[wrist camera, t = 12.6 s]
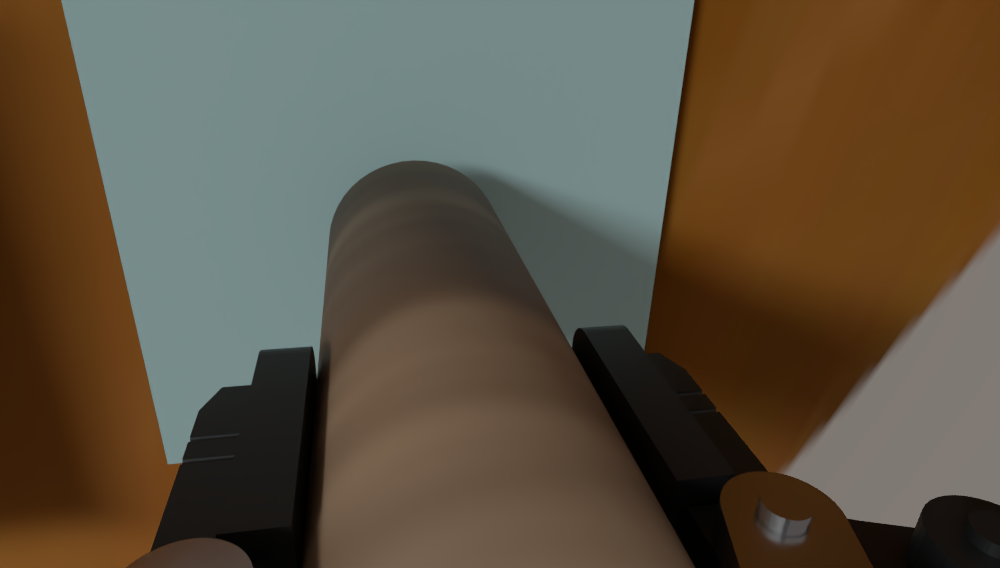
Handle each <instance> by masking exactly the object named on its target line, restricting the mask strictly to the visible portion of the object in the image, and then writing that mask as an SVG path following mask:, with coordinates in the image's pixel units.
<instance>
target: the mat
mask: <svg viewBox="0 0 1000 568" xmlns="http://www.w3.org/2000/svg"><path fill="white" fill-rule="evenodd" d="M61 1H62V5H63V9H64V14H65V18H66V23H67V27H68V31H69V36H70V40H71V44H72V49H73V53H74V57H75V62H76V66H77V70H78V75H79V79H80V83H81V88H82V92H83V97H84V101H85V105H86V110H87V114H88V118H89V123H90V127H91V131H92V136H93V140H94V144H95V149H96V153H97V157H98V162H99V166H100V171H101V175H102V179H103V184H104V188H105V192H106V197H107V201H108V205H109V210H110V214H111V218H112V223H113V227H114V231H115V236H116V240H117V245H118V249H119V253H120V258H121V262H122V266H123V271H124V275H125V279H126V284H127V288H128V292H129V297H130V301H131V306H132V310H133V314H134V319H135V323H136V327H137V332H138V336H139V340H140V345H141V349H142V353H143V358H144V362H145V366H146V371H147V375H148V380H149V384H150V388H151V393H152V397H153V401H154V406H155V410H156V414H157V419H158V423H159V427H160V432H161V436H162V440H163V445H164V449H165V454H166V458H167V462H168V464H175V463H182V458H183V455H184V452H185V449H186V446H187V444H188V442H190V435H191V432H192V429H193V426H194V423H195V420H196V417H197V414H198V411H199V410H200V409H201V408H202V407H203V406H204V405H205V404H206V403H207V402H208V401H209V400H210V399H211V398H212V397H213V396H214V395H215V394H216V393H217V392H218V391H219V390H220V389H221V388H222V387H231V386H244V385H251V384H252V379H253V375H254V371H255V367H256V363H257V359H258V355H259V352H260V350H267V349H281V348H295V347H309V346H312V347H313V350H314V356H315V364H316V374H317V371H318V360H319V349H320V337H321V326H322V314H323V303H324V291H325V280H326V268H327V257H328V245H329V235H330V227H331V223H332V219H333V216H334V213H335V211H336V209H337V207H338V205H339V203H340V202H341V200H342V198H343V197H344V195H345V194H346V193H347V192H348V191H349V189H350V188H351V187H352V186H353V185H354V184H355V183H357V182H358V181H359V180H360V179H361V178H363V177H364V176H366V175H367V174H369V173H370V172H372V171H374V170H376V169H378V168H380V167H383V166H386V165H389V164H392V163H397V162H402V161H412V160H417V161H429V162H435V163H439V164H442V165H445V166H448V167H451V168H453V169H455V170H457V171H459V172H460V173H462V174H464V175H465V176H467V177H468V178H469V179H470V180H472V181H473V182H474V183H475V184H476V185H477V186H478V187H479V188H480V189H481V190H482V192H483V193H484V194H485V196H486V197H487V199H488V200H489V202H490V204H491V206H492V207H493V209H494V211H495V213H496V214H497V216H498V218H499V220H500V222H501V223H502V225H503V227H504V229H505V230H506V232H507V234H508V236H509V238H510V239H511V241H512V243H513V245H514V246H515V248H516V250H517V252H518V253H519V255H520V257H521V259H522V261H523V262H524V264H525V266H526V268H527V269H528V271H529V273H530V275H531V277H532V278H533V280H534V282H535V284H536V285H537V287H538V289H539V291H540V293H541V294H542V296H543V298H544V300H545V301H546V303H547V305H548V307H549V308H550V310H551V312H552V314H553V316H554V317H555V319H556V321H557V323H558V324H559V326H560V328H561V330H562V332H563V333H564V335H565V337H566V339H567V340H568V342H569V344H570V346H571V348H572V342H573V336H574V333H575V331H576V330H577V329H578V328H585V327H599V326H613V325H624V326H626V327H627V328H628V329H629V331H630V332H631V333H632V335H633V336H634V338H635V339H636V340H637V342H638V343H639V344H640V346H641V347H642V348H643V350H645V343H646V336H647V329H648V322H649V315H650V308H651V301H652V294H653V287H654V280H655V273H656V266H657V259H658V252H659V245H660V238H661V231H662V224H663V217H664V210H665V203H666V196H667V189H668V182H669V175H670V168H671V161H672V154H673V147H674V140H675V133H676V126H677V119H678V112H679V105H680V98H681V91H682V84H683V77H684V70H685V63H686V56H687V49H688V42H689V35H690V28H691V21H692V14H693V7H694V0H61Z"/></svg>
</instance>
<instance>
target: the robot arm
mask: <svg viewBox="0 0 1000 568" xmlns="http://www.w3.org/2000/svg"><path fill="white" fill-rule="evenodd" d="M572 349H573V351H574V353H575V355H576V356H577V358H578V360H579V362H580V363H581V365H582V367H583V369H584V371H585V372H586V374H587V376H588V378H589V379H590V381H591V383H592V385H593V387H594V388H595V390H596V392H597V394H598V395H599V397H600V399H601V401H602V403H603V404H604V406H605V408H606V410H607V411H608V413H609V415H610V417H611V418H612V420H613V422H614V424H615V426H616V427H617V429H618V431H619V433H620V434H621V436H622V438H623V440H624V442H625V443H626V445H627V447H628V449H629V450H630V452H631V454H632V456H633V458H634V459H635V461H636V463H637V465H638V466H639V468H640V470H641V472H642V473H643V475H644V477H645V479H646V481H647V482H648V484H649V486H650V488H651V489H652V491H653V493H654V495H655V497H656V498H657V500H658V502H659V504H660V505H661V507H662V509H663V511H664V513H665V514H666V516H667V518H668V520H669V521H670V523H671V525H672V527H673V528H674V530H675V532H676V534H677V536H678V537H679V539H680V541H681V543H682V544H683V546H684V548H685V550H686V552H687V553H688V555H689V557H690V559H691V560H692V562H693V564H694V566H695V568H1000V505H997V504H994V503H992V502H989V501H985V500H981V499H978V498H973V497H967V496H958V495H957V496H956V495H952V496H951V495H950V496H941V497H937V498H935V499H932V500H930V501H929V502H928V503H927V504H925V506H924V508H923V509H922V512H921V514H920V517H919V519H918V522H917V525H916V527H915V528H911V527H903V526H896V525H888V524H880V523H873V522H865V521H858V520H852V519H847V518H846V516H845V515H844V513H843V512H842V510H841V509H840V508H839V507H838V506H837V505H836V503H835V502H834V501H832V500H831V499H830V498H829V497H828V496H827V495H826V494H824V493H823V492H821V491H820V490H818V489H817V488H815V487H813V486H811V485H810V484H808V483H806V482H803V481H801V480H799V479H796V478H794V477H791V476H788V475H784V474H779V473H774V472H768V471H767V470H766V468H765V467H764V466H763V465H762V464H761V462H760V461H759V460H758V459H757V457H756V456H755V455H754V454H753V452H752V451H751V450H750V449H749V448H748V446H747V445H746V444H745V443H744V441H743V440H742V439H741V438H740V436H739V435H738V434H737V433H736V432H735V430H734V429H733V428H732V427H731V425H730V424H729V423H728V422H727V420H726V419H725V418H724V417H723V416H722V414H721V413H720V412H716V407H715V406H714V404H713V403H712V402H711V401H710V400H709V398H708V397H707V396H706V395H705V394H702V390H701V388H700V387H699V386H698V385H697V384H696V382H695V381H694V380H693V379H692V377H691V376H690V375H689V374H688V372H687V371H686V370H685V369H683V368H682V367H680V366H679V365H677V364H675V363H674V362H672V361H671V360H669V359H667V358H666V357H664V356H663V355H661V354H660V353H651V354H646V352H645V351H644V350H643V348H642V347H641V346H640V344H639V343H638V342H637V340H636V339H635V338H634V336H633V335H632V333H631V332H630V331H629V329H628V328H627V327H626V326H624V325H613V326H599V327H585V328H578V329H577V330H576V331H575V333H574V336H573V342H572ZM316 387H317V374H316V364H315V356H314V350H313V347H312V346H309V347H295V348H281V349H267V350H260V352H259V355H258V359H257V363H256V367H255V371H254V375H253V379H252V384H251V385H244V386H231V387H222V388H221V389H220V390H219V391H218V392H217V393H216V394H215V395H214V396H213V397H212V398H211V399H210V400H209V401H208V402H207V403H206V404H205V405H204V406H203V407H202V408H201V409H200V410H199V411H198V414H197V417H196V420H195V423H194V426H193V429H192V432H191V435H190V442H188V444H187V446H186V449H185V452H184V455H183V458H182V465H180V467H179V470H178V473H177V476H176V479H175V481H174V484H173V487H172V490H171V493H170V496H169V499H168V502H167V505H166V508H165V511H164V514H163V516H162V519H161V522H160V525H159V528H158V531H157V534H156V537H155V540H154V543H153V546H152V549H151V551H150V552H149V553H147V554H145V555H144V556H142V557H140V558H139V559H137V560H135V561H134V562H133V563H132V564H130V565H129V566H128V567H126V568H301V561H302V550H303V538H304V526H305V515H306V503H307V492H308V480H309V468H310V457H311V445H312V434H313V422H314V410H315V399H316Z"/></svg>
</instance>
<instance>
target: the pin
mask: <svg viewBox="0 0 1000 568" xmlns="http://www.w3.org/2000/svg"><path fill="white" fill-rule="evenodd" d="M301 568H695V566H694V564H693V562H692V560H691V559H690V557H689V555H688V553H687V552H686V550H685V548H684V546H683V544H682V543H681V541H680V539H679V537H678V536H677V534H676V532H675V530H674V528H673V527H672V525H671V523H670V521H669V520H668V518H667V516H666V514H665V513H664V511H663V509H662V507H661V505H660V504H659V502H658V500H657V498H656V497H655V495H654V493H653V491H652V489H651V488H650V486H649V484H648V482H647V481H646V479H645V477H644V475H643V473H642V472H641V470H640V468H639V466H638V465H637V463H636V461H635V459H634V458H633V456H632V454H631V452H630V450H629V449H628V447H627V445H626V443H625V442H624V440H623V438H622V436H621V434H620V433H619V431H618V429H617V427H616V426H615V424H614V422H613V420H612V418H611V417H610V415H609V413H608V411H607V410H606V408H605V406H604V404H603V403H602V401H601V399H600V397H599V395H598V394H597V392H596V390H595V388H594V387H593V385H592V383H591V381H590V379H589V378H588V376H587V374H586V372H585V371H584V369H583V367H582V365H581V363H580V362H579V360H578V358H577V356H576V355H575V353H574V351H573V349H572V348H571V346H570V344H569V342H568V340H567V339H566V337H565V335H564V333H563V332H562V330H561V328H560V326H559V324H558V323H557V321H556V319H555V317H554V316H553V314H552V312H551V310H550V308H549V307H548V305H547V303H546V301H545V300H544V298H543V296H542V294H541V293H540V291H539V289H538V287H537V285H536V284H535V282H534V280H533V278H532V277H531V275H530V273H529V271H528V269H527V268H526V266H525V264H524V262H523V261H522V259H521V257H520V255H519V253H518V252H517V250H516V248H515V246H514V245H513V243H512V241H511V239H510V238H509V236H508V234H507V232H506V230H505V229H504V227H503V225H502V223H501V222H500V220H499V218H498V216H497V214H496V213H495V211H494V209H493V207H492V206H491V204H490V202H489V200H488V199H487V197H486V196H485V194H484V193H483V192H482V190H481V189H480V188H479V187H478V186H477V185H476V184H475V183H474V182H473V181H472V180H470V179H469V178H468V177H467V176H465V175H464V174H462V173H460V172H459V171H457V170H455V169H453V168H451V167H448V166H445V165H442V164H439V163H435V162H429V161H417V160H412V161H402V162H397V163H392V164H389V165H386V166H383V167H380V168H378V169H376V170H374V171H372V172H370V173H369V174H367V175H366V176H364V177H363V178H361V179H360V180H359V181H358V182H357V183H355V184H354V185H353V186H352V187H351V188H350V189H349V191H348V192H347V193H346V194H345V195H344V197H343V198H342V200H341V202H340V203H339V205H338V207H337V209H336V211H335V213H334V216H333V219H332V223H331V227H330V235H329V245H328V257H327V268H326V280H325V291H324V303H323V314H322V326H321V337H320V349H319V360H318V371H317V387H316V399H315V410H314V422H313V434H312V445H311V457H310V468H309V480H308V492H307V503H306V515H305V526H304V538H303V550H302V561H301Z"/></svg>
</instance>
